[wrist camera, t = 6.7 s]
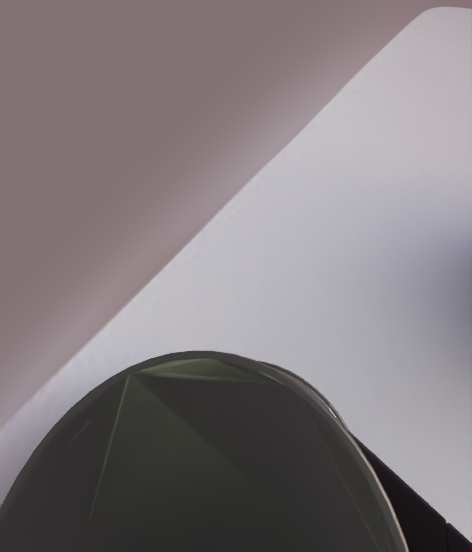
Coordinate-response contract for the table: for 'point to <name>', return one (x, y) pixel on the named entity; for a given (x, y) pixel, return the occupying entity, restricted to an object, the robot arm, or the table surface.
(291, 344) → the table surface
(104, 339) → the table surface
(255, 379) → the green lidded jar
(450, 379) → the table surface
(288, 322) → the table surface
